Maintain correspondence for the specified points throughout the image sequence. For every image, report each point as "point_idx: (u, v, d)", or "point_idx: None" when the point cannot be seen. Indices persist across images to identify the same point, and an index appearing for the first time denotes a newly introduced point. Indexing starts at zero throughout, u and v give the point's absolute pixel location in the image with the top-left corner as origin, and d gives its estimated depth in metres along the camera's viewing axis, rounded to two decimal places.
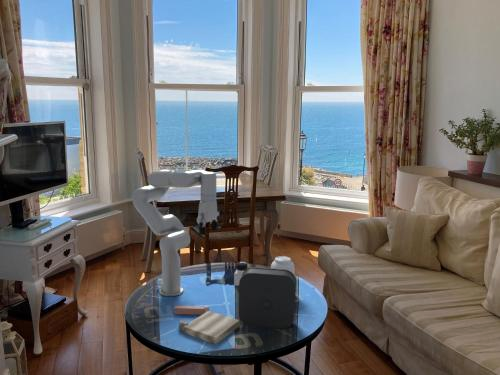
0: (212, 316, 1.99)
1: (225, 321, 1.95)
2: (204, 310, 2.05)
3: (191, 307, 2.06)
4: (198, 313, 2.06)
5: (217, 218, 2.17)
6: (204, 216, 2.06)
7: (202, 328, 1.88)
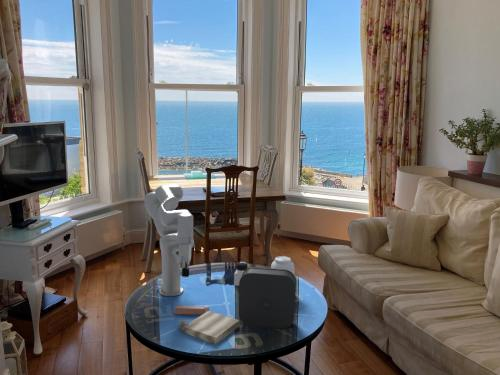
0: (212, 316, 1.99)
1: (225, 321, 1.95)
2: (204, 310, 2.05)
3: (191, 307, 2.06)
4: (198, 313, 2.06)
5: (187, 263, 2.12)
6: (186, 259, 2.04)
7: (202, 328, 1.88)
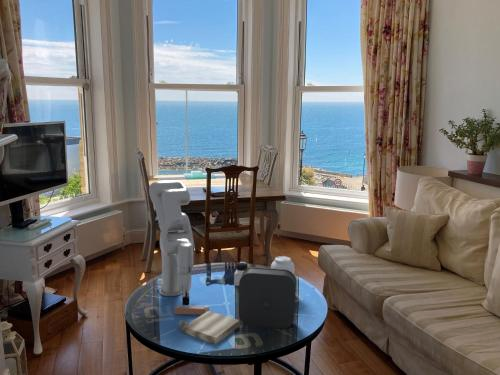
0: (212, 316, 1.99)
1: (225, 321, 1.95)
2: (204, 310, 2.05)
3: (191, 307, 2.06)
4: (198, 313, 2.06)
5: None
6: (186, 288, 2.06)
7: (202, 328, 1.88)
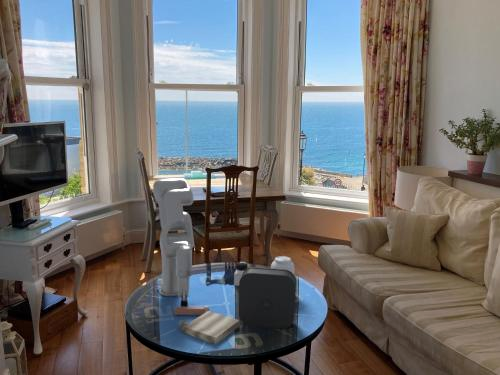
0: (212, 316, 1.99)
1: (225, 321, 1.95)
2: (204, 310, 2.05)
3: (191, 307, 2.06)
4: (198, 313, 2.06)
5: None
6: (186, 292, 2.03)
7: (202, 328, 1.88)
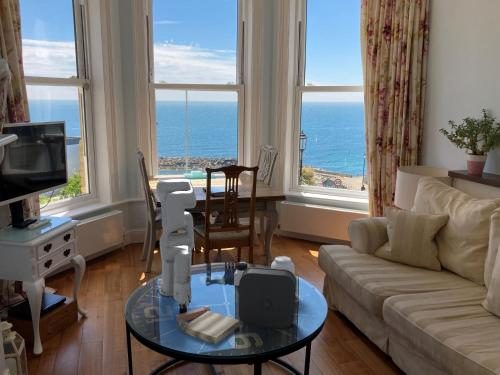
0: (212, 316, 1.99)
1: (225, 321, 1.95)
2: (206, 310, 2.05)
3: (193, 311, 2.02)
4: None
5: None
6: (190, 297, 1.98)
7: (202, 328, 1.88)
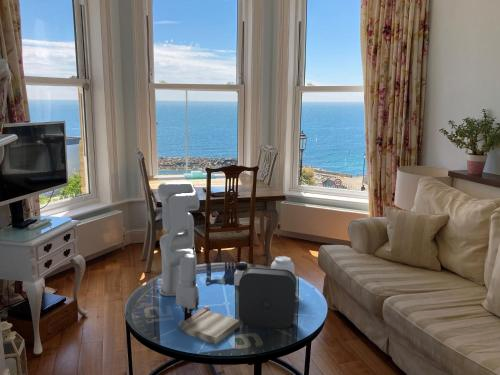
0: (212, 316, 1.99)
1: (225, 321, 1.95)
2: (207, 310, 2.05)
3: (198, 313, 2.00)
4: None
5: None
6: (198, 300, 1.96)
7: (202, 328, 1.88)
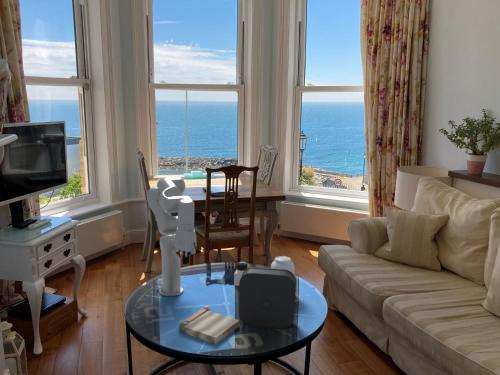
0: (212, 316, 1.99)
1: (225, 321, 1.95)
2: (207, 310, 2.05)
3: (197, 313, 2.00)
4: None
5: (183, 250, 2.08)
6: None
7: (202, 328, 1.88)
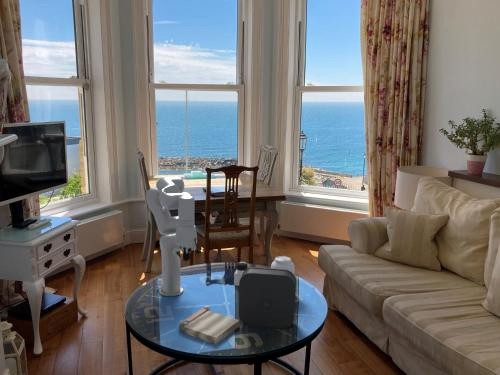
0: (212, 316, 1.99)
1: (225, 321, 1.95)
2: (207, 310, 2.05)
3: (197, 313, 2.00)
4: None
5: None
6: (196, 240, 2.04)
7: (202, 328, 1.88)
